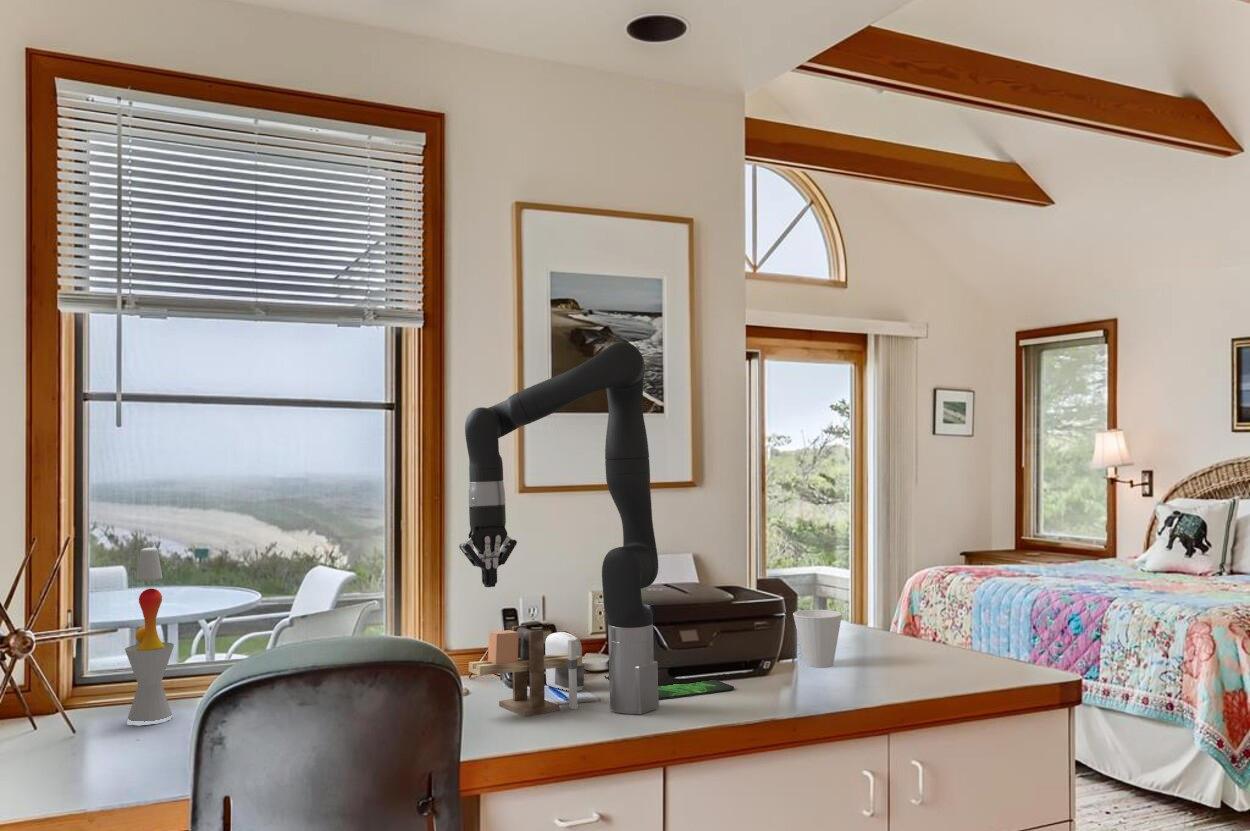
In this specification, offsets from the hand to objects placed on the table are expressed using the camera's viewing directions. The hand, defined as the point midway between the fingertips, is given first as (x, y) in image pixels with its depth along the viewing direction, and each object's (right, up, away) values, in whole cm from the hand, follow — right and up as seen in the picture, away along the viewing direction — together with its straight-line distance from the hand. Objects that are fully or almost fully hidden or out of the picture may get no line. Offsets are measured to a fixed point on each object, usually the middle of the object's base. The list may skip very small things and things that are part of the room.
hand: (489, 586), depth 205 cm
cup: (+75, -25, +35) cm, 87 cm away
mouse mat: (+38, -26, +19) cm, 50 cm away
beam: (+8, -21, 0) cm, 23 cm away
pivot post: (+8, -25, 0) cm, 26 cm away
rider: (+3, -15, -3) cm, 15 cm away
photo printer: (+14, -26, +16) cm, 34 cm away
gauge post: (+17, -25, -1) cm, 30 cm away
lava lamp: (-69, -27, -4) cm, 74 cm away
